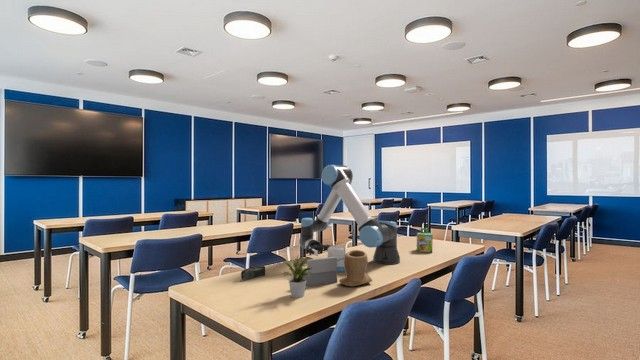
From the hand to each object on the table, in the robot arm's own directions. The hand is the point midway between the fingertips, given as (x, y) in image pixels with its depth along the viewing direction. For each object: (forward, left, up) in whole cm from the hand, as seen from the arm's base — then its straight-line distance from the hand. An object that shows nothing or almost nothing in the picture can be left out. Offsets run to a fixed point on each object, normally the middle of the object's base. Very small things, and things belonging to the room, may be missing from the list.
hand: (328, 252), depth 188 cm
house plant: (+34, +40, -7) cm, 53 cm away
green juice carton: (-73, -7, -7) cm, 74 cm away
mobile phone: (+43, +6, -7) cm, 44 cm away
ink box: (0, +10, -7) cm, 12 cm away
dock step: (+17, +22, -7) cm, 28 cm away
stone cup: (+3, +36, -7) cm, 37 cm away
